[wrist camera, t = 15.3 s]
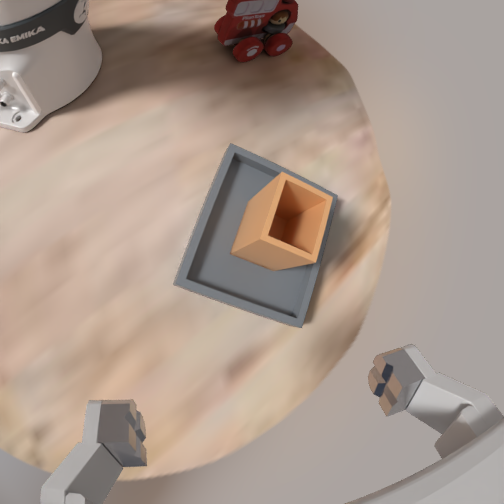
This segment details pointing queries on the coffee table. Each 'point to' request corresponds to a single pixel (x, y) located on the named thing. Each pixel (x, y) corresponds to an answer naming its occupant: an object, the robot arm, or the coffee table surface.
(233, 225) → the tray
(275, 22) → the toy fire truck
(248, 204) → the box
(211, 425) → the coffee table surface
